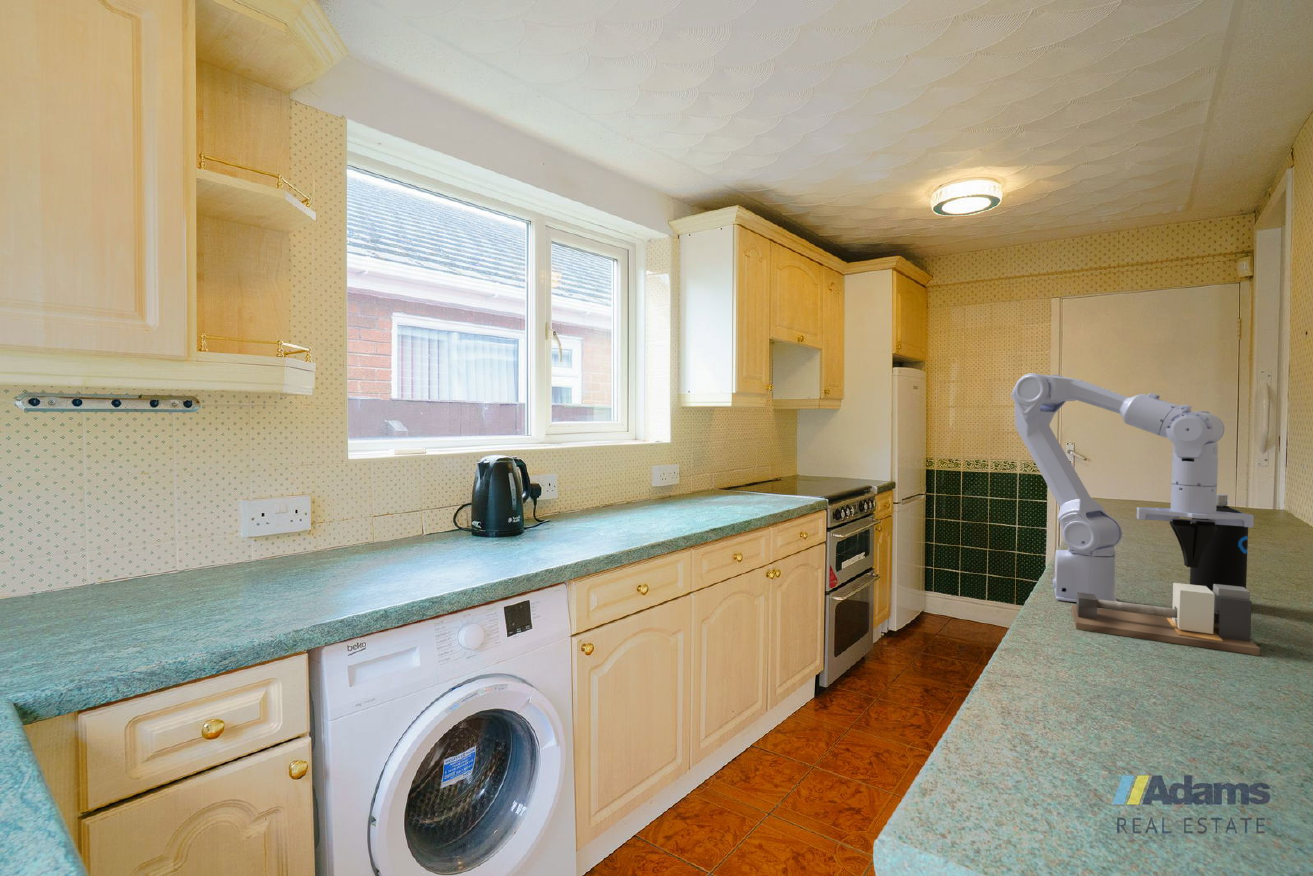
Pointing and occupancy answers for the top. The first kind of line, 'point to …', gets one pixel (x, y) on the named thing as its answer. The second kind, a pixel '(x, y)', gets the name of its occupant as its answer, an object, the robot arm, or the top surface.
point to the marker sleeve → (1193, 607)
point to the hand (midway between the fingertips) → (1191, 566)
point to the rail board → (1147, 624)
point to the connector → (1232, 612)
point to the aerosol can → (1223, 554)
